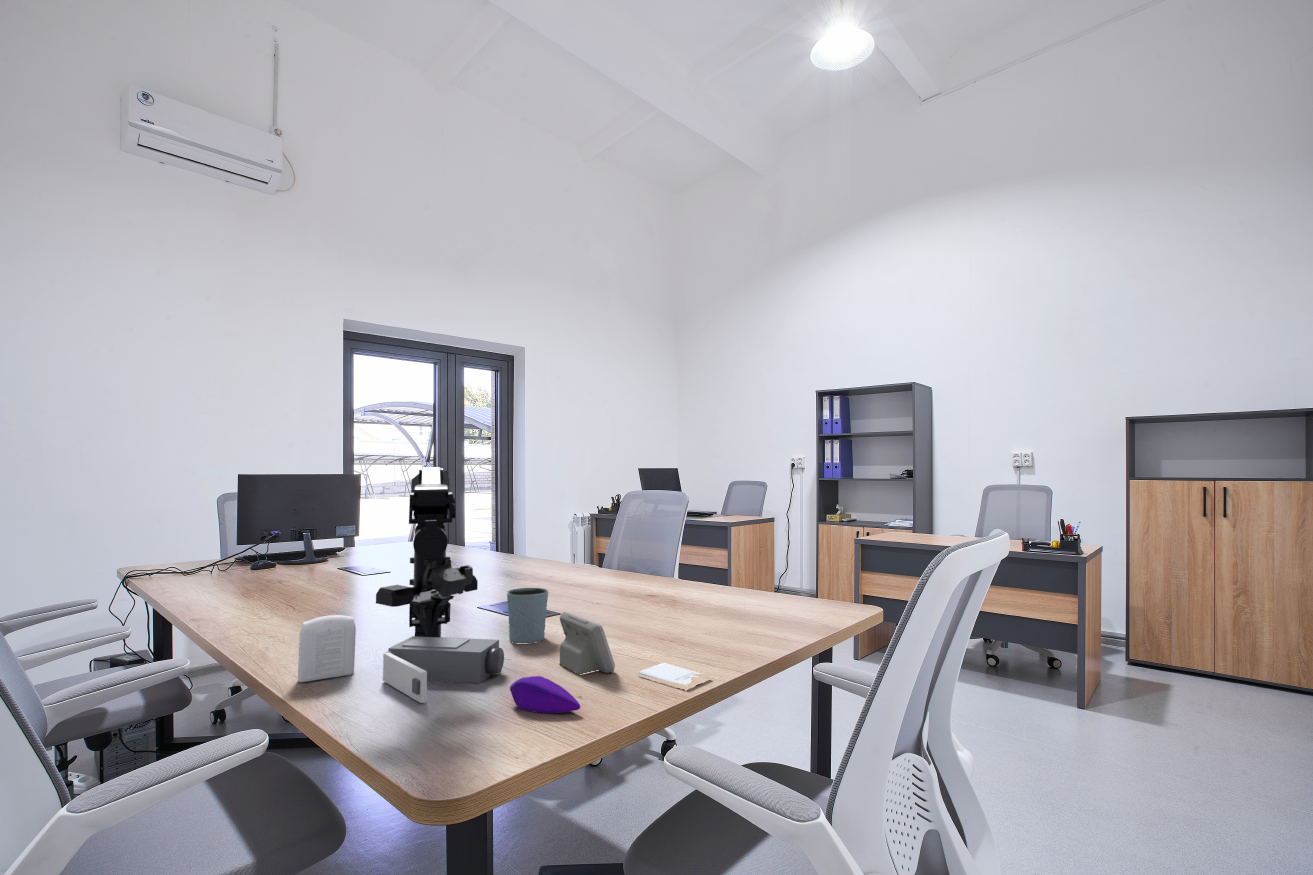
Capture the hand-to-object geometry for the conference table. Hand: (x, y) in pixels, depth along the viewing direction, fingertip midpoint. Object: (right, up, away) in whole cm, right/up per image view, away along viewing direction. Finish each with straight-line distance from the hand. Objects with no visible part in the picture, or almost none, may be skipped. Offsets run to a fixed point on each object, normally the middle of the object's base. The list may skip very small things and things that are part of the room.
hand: (428, 634), depth 114 cm
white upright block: (-25, -12, +9) cm, 29 cm away
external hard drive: (+47, -12, +7) cm, 49 cm away
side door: (-5, -11, +1) cm, 12 cm away
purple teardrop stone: (+23, -11, -8) cm, 27 cm away
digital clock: (+28, -12, +15) cm, 34 cm away
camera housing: (-1, -12, +11) cm, 16 cm away
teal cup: (+11, -13, +36) cm, 40 cm away
